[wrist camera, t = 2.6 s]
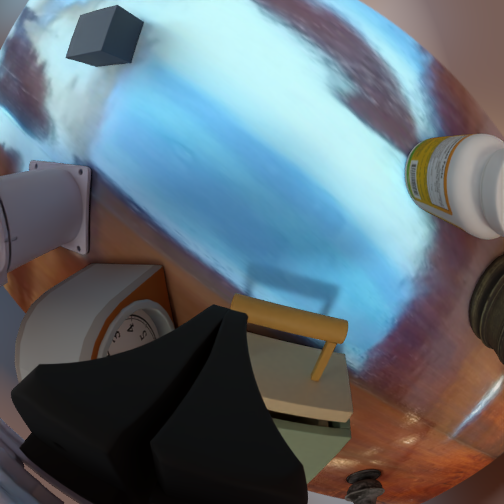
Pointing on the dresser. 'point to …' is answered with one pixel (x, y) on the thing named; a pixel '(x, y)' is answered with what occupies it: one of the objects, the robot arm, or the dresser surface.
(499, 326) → the container
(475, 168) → the supplement bottle
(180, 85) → the dresser surface
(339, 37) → the dresser surface
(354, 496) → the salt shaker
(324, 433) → the cabinet
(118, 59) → the block
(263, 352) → the drawer
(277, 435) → the robot arm
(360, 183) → the dresser surface
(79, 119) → the dresser surface
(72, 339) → the alarm clock
